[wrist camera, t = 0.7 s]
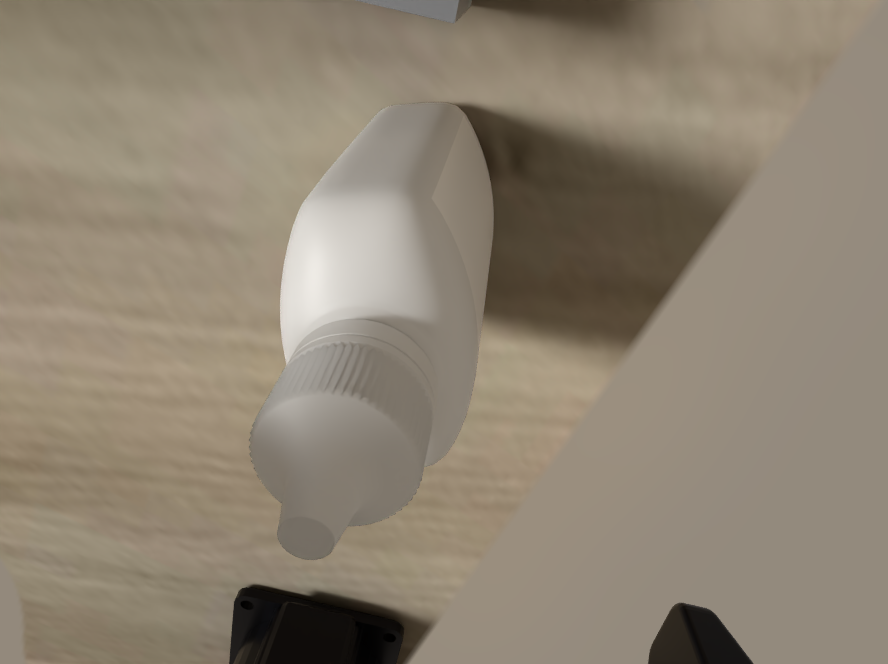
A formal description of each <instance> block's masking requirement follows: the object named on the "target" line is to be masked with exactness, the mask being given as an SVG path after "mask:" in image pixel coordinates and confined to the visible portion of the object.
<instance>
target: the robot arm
mask: <svg viewBox="0 0 888 664" xmlns="http://www.w3.org/2000/svg"><path fill="white" fill-rule="evenodd" d="M403 634H404V628H403V626H402V625H401V624H400V623H399V622H396V621H394V620H390V619H385V618H381V617H376V616H372V615H368V614H363V613H359V612H355V611H350V610H346V609H342V608H337V607H333V606H328V605H324V604H320V603H315V602H311V601H307V600H302V599H298V598H294V597H289V596H285V595H280V594H276V593H272V592H267V591H263V590H259V589H254V588H247V587H246V588H242V589H241V590H239V592H238V594H237V597H236V599H235V601H234V610H233V623H232V636H231V649H230V662H229V664H396V662H397V659H398V655H399V651H400V647H401V644H402V640H403ZM648 664H753V662H752V661H751V660H750V659H749V657H748V656H747V655H746V653H745V652H744V651H743V649H742V648H741V647H740V645H739V644H738V643H737V641H736V640H735V639H734V638H733V636H732V635H731V634H730V633H729V631H728V630H727V629H726V627H725V626H724V625H723V624H722V622H721V621H720V619H719V618H718V617H717V616H716V615H715V614H714V613H713V612H712V611H711V610H709V609H707V608H703V607H699V606H694V605H690V604H685V603H677V604H676V605H674V606H673V607H672V609H671V610H670V612H669V614H668V616H667V617H666V619H665V621H664V623H663V625H662V627H661V629H660V630H659V632H658V634H657V636H656V638H655V640H654V641H653V644H652V646H651V649H650V653H649V662H648Z"/></svg>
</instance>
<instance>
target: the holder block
mask: <svg viewBox="0 0 888 664" xmlns="http://www.w3.org/2000/svg"><path fill="white" fill-rule="evenodd" d="M356 1H361V2H365V3H369V4H373V5H378V6H382V7H386V8H391V9H395V10H399V11H403V12H408V13H412V14H416V15H421V16H425V17H429V18H433V19H438V20H442V21H446V22H450V23H455V22H456V21H457V20H458V19H459V18H460V17H461V16H462V15H463V14H464V13H465V12H466V11H467V9H468V8H469V7H470V6H471V2H472V0H356Z"/></svg>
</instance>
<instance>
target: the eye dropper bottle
mask: <svg viewBox="0 0 888 664" xmlns="http://www.w3.org/2000/svg"><path fill="white" fill-rule="evenodd" d="M493 228H494V207H493V195H492V188H491V182H490V177H489V172H488V168H487V164H486V161H485V158H484V154H483V151H482V148H481V146H480V143H479V141H478V138H477V136H476V134H475V131H474V129H473V127H472V125H471V123H470V121H469V120H468V118H467V116H466V114H465V113H464V112H463V111H462V110H461V109H460V108H459V107H457V106H456V105H453V104H449V103H445V102H431V103H413V104H399V105H391V106H389V107H386V108H384V109H381V110H380V111H379V112H378V113H377V114H376V116H375V117H374V118H373V119H372V120H371V121H370V122H369V123H368V125H367V126H366V127H365V128H364V129H363V130H362V131H361V132H360V134H359V135H358V136H357V137H356V138H355V139H354V140H353V142H352V143H351V144H350V145H349V146H348V147H347V149H346V150H345V151H344V152H343V153H342V154H341V156H340V157H339V158H338V159H337V160H336V161H335V163H334V164H333V165H332V166H331V167H330V168H329V170H328V171H327V172H326V173H325V175H324V176H323V177H322V178H321V180H320V181H319V182H318V184H317V185H316V186H315V188H314V189H313V190H312V192H311V193H310V194H309V195H308V197H307V198H306V199H305V201H304V202H303V203H302V206H301V208H300V210H299V212H298V215H297V217H296V220H295V223H294V225H293V228H292V232H291V236H290V239H289V243H288V247H287V252H286V257H285V262H284V267H283V275H282V283H281V298H280V322H281V334H282V343H283V349H284V355H285V360H286V364H287V365H286V367H285V368H284V370H283V372H282V374H281V375H280V377H279V379H278V381H277V382H276V384H275V386H274V388H273V389H272V391H271V393H270V395H269V396H268V398H267V400H266V402H265V403H264V405H263V407H262V409H261V410H260V412H259V414H258V415H257V417H256V419H255V422H254V424H253V425H252V426H253V428H252V430H251V432H250V434H251V437H250V439H249V441H250V445H249V448H250V451H251V452H250V456H251V458H252V461H251V462H252V463H253V465H254V469H255V471H256V473H257V476H258V477H259V479H260V480H261V482H262V484H263V485H264V486H265V487H266V489H267V490H268V491H269V492H270V493H271V494H272V495H273V496H274V497H275V498H276V499H277V500H278V501H279V502H280V503H282V508H281V514H280V520H279V526H278V532H277V536H278V540H279V542H280V544H281V545H282V547H283V548H284V549H285V550H286V551H287V552H289V553H290V554H292V555H294V556H296V557H299V558H302V559H307V560H316V559H321V558H324V557H326V556H327V555H329V554H330V553H331V552H332V550H333V549H334V547H335V545H336V544H337V542H338V540H339V539H340V537H341V535H342V534H343V532H344V531H345V529H346V527H347V526H361V525H367V524H372V523H375V522H379V521H382V520H383V519H386V518H389V516H392V515H394V514H396V512H398V511H400V510H402V507H404V506H406V505H407V504H408V502H409V501H410V500H412V497H413V495H415V494H416V491H417V489H418V488H419V485H420V481H421V480H422V475H423V470H424V467H427V466H430V465H433V464H435V463H437V462H438V461H439V460H440V459H442V458H443V457H444V456H445V455H446V454H447V453H448V451H449V450H450V448H451V447H452V445H453V443H454V442H455V440H456V438H457V436H458V434H459V432H460V430H461V427H462V425H463V422H464V420H465V417H466V414H467V411H468V407H469V404H470V400H471V396H472V391H473V386H474V381H475V375H476V368H477V360H478V353H479V345H480V338H481V330H482V322H483V314H484V306H485V298H486V290H487V282H488V274H489V266H490V257H491V249H492V241H493Z"/></svg>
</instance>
